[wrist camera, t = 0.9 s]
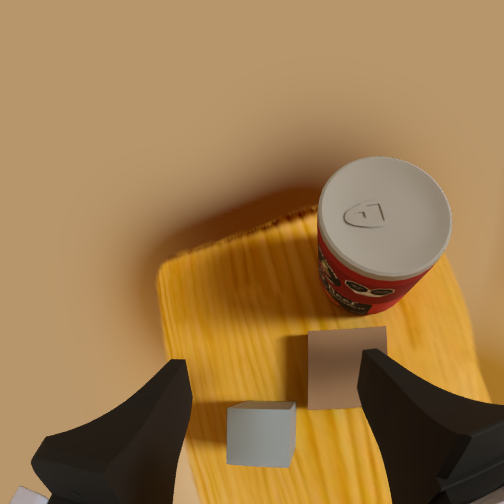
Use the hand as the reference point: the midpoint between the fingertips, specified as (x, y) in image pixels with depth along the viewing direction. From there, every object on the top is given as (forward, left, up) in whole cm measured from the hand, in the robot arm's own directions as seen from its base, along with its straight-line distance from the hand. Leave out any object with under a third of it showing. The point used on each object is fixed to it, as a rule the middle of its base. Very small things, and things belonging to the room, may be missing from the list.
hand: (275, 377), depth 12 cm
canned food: (+8, -6, -13) cm, 17 cm away
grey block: (-4, +2, -13) cm, 14 cm away
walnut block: (0, -4, -14) cm, 14 cm away
